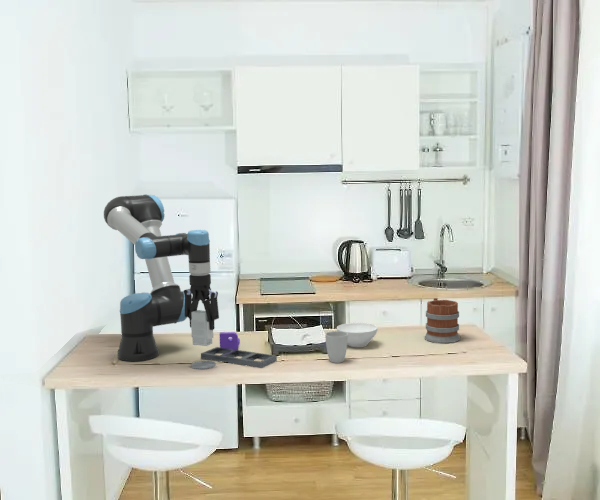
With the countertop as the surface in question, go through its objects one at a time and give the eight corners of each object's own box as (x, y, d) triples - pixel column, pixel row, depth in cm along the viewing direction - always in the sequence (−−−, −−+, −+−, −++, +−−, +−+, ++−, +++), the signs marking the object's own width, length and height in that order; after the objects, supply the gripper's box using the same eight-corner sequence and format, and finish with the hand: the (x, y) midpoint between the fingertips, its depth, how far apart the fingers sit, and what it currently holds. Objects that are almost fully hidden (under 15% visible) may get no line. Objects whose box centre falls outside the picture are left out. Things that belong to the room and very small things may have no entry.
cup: (350, 358, 280) (350, 332, 279) (344, 364, 273) (344, 337, 271) (329, 356, 283) (329, 330, 281) (322, 363, 275) (322, 335, 274)
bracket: (237, 350, 295) (237, 333, 294) (220, 351, 295) (219, 333, 294) (239, 342, 307) (239, 326, 306) (222, 343, 307) (222, 326, 306)
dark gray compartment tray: (200, 358, 284) (200, 353, 284) (217, 351, 293) (216, 346, 292) (261, 368, 270) (261, 362, 270) (276, 360, 279) (276, 355, 279)
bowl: (379, 350, 291) (379, 332, 290) (337, 350, 291) (337, 332, 290) (376, 339, 307) (375, 322, 306) (336, 340, 307) (335, 322, 306)
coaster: (185, 367, 273) (185, 365, 273) (201, 360, 281) (201, 359, 281) (205, 370, 269) (205, 369, 269) (220, 364, 276) (220, 362, 276)
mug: (428, 344, 298) (429, 306, 296) (418, 332, 317) (418, 296, 315) (464, 343, 298) (464, 305, 296) (451, 331, 317) (451, 295, 315)
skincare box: (212, 343, 274) (211, 311, 272) (206, 346, 270) (205, 313, 269) (198, 342, 277) (197, 309, 275) (192, 344, 273) (190, 312, 271)
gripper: (171, 273, 272) (174, 337, 275) (215, 277, 262) (217, 342, 265) (185, 270, 278) (188, 332, 281) (228, 273, 268) (230, 338, 272)
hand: (202, 337), depth 273 cm, fingers closed on skincare box, 6 cm apart
